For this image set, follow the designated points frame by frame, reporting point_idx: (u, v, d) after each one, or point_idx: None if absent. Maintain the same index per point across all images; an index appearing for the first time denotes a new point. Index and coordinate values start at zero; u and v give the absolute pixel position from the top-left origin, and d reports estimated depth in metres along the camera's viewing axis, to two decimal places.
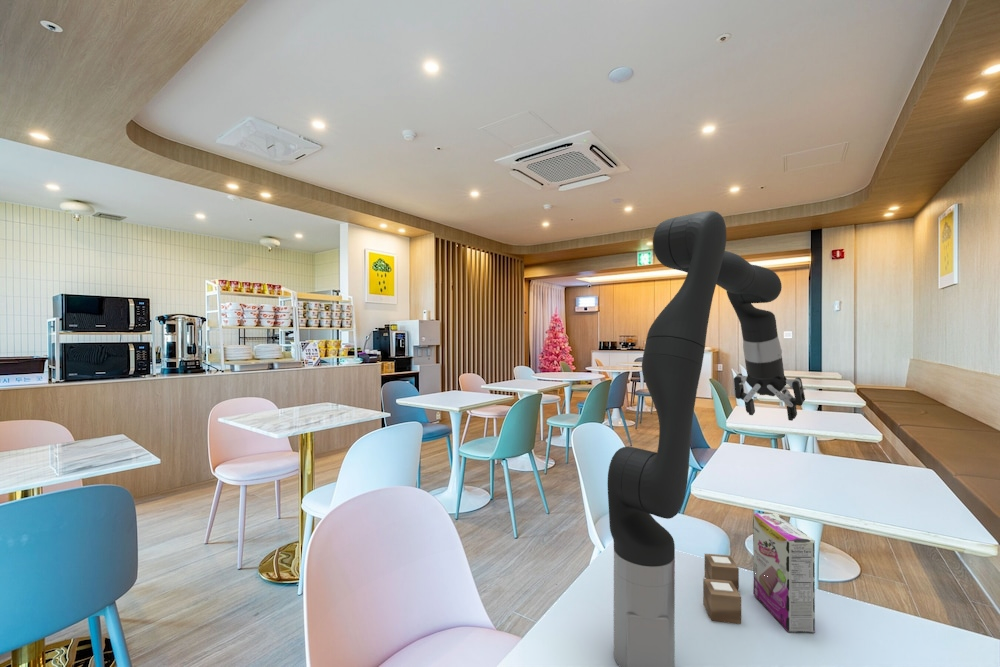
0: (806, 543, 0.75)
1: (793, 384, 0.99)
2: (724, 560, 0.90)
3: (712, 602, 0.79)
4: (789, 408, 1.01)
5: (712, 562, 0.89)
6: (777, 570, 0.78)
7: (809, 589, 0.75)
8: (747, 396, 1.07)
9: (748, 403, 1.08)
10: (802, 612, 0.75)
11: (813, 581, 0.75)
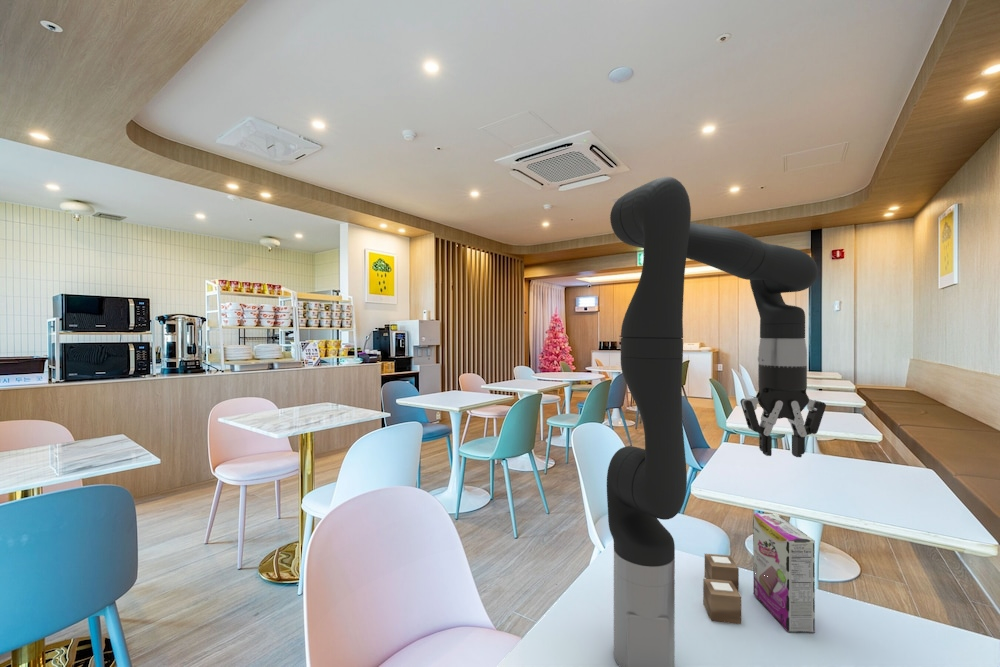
0: (806, 543, 0.75)
1: (820, 405, 0.78)
2: (724, 560, 0.90)
3: (712, 602, 0.79)
4: (800, 439, 0.79)
5: (712, 562, 0.89)
6: (777, 570, 0.78)
7: (809, 589, 0.75)
8: (767, 426, 0.80)
9: (769, 437, 0.80)
10: (802, 612, 0.75)
11: (813, 581, 0.75)
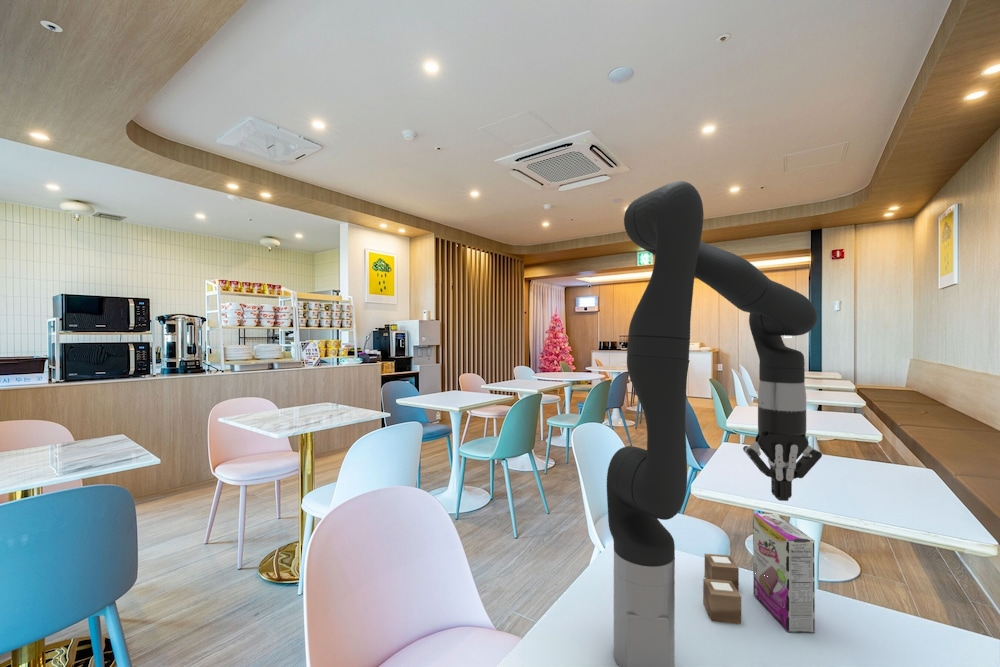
0: (806, 543, 0.75)
1: (816, 454, 0.79)
2: (724, 560, 0.90)
3: (712, 602, 0.79)
4: (787, 483, 0.80)
5: (712, 562, 0.89)
6: (777, 570, 0.78)
7: (808, 589, 0.75)
8: (777, 471, 0.80)
9: (781, 482, 0.80)
10: (802, 612, 0.75)
11: (813, 581, 0.75)
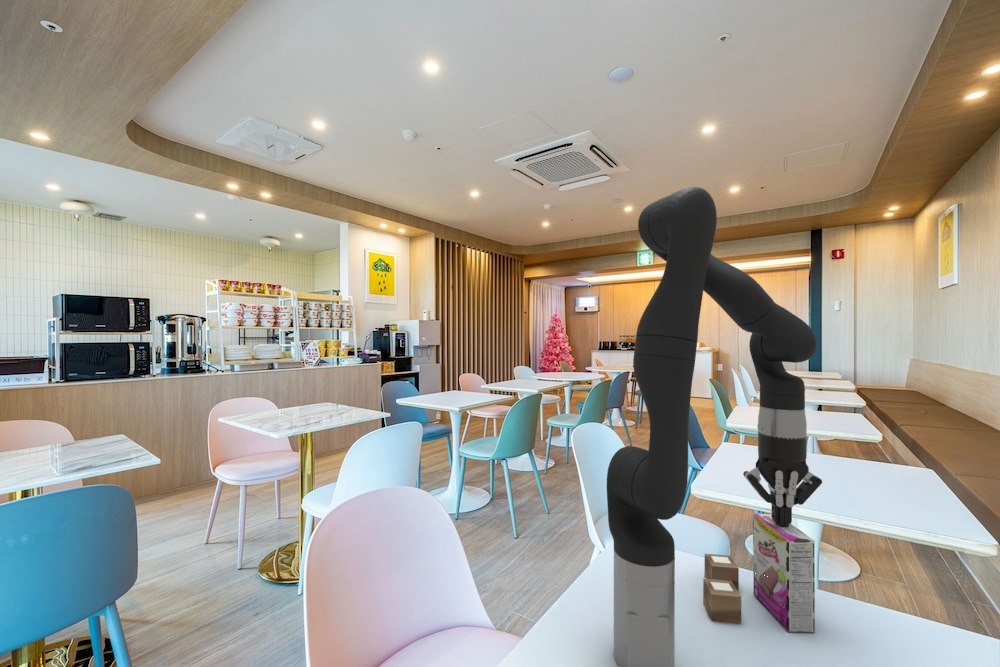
0: (806, 544, 0.75)
1: (816, 480, 0.79)
2: (724, 560, 0.90)
3: (712, 602, 0.79)
4: (787, 509, 0.80)
5: (712, 562, 0.89)
6: (777, 570, 0.78)
7: (808, 590, 0.75)
8: (777, 497, 0.80)
9: (781, 508, 0.80)
10: (802, 612, 0.75)
11: (813, 581, 0.75)
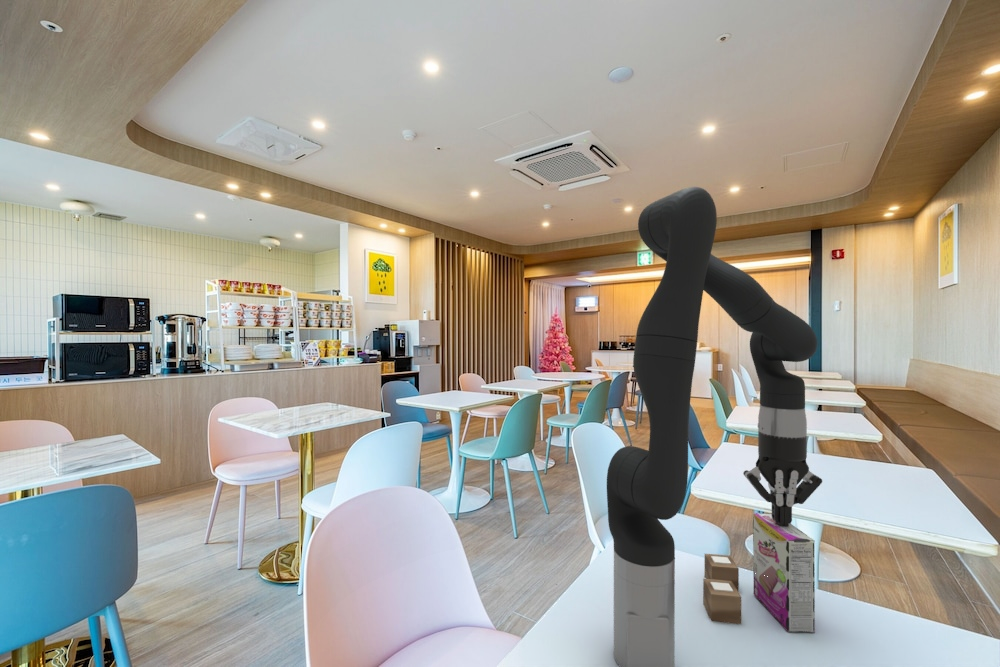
0: (806, 543, 0.75)
1: (817, 480, 0.79)
2: (724, 560, 0.90)
3: (712, 602, 0.79)
4: (787, 508, 0.80)
5: (712, 562, 0.89)
6: (777, 570, 0.78)
7: (808, 589, 0.75)
8: (777, 497, 0.80)
9: (781, 508, 0.80)
10: (802, 612, 0.75)
11: (813, 581, 0.75)
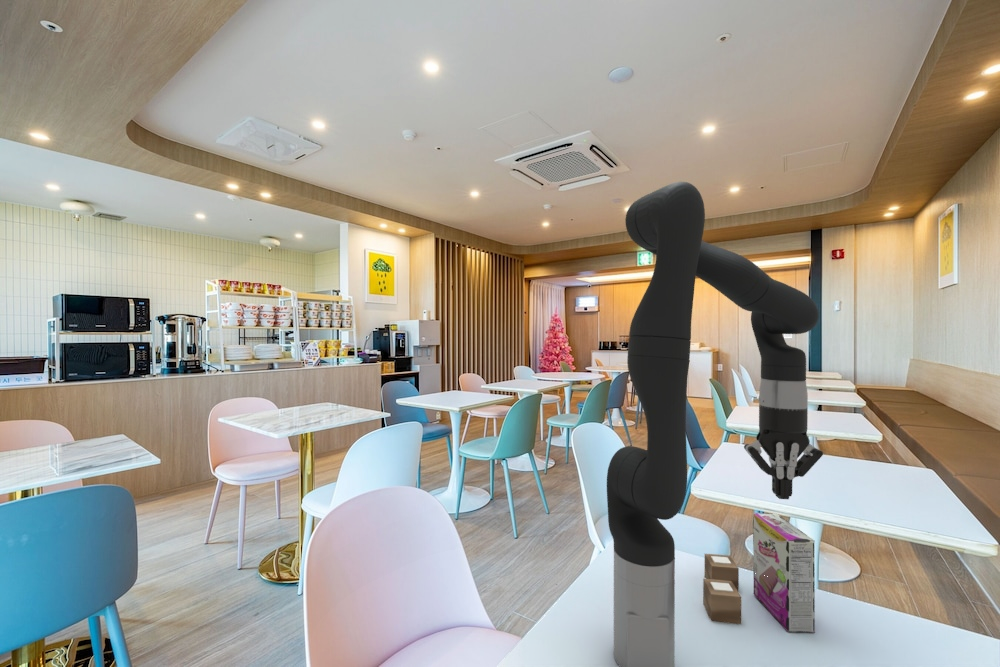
0: (806, 543, 0.75)
1: (817, 452, 0.79)
2: (724, 560, 0.90)
3: (712, 602, 0.79)
4: (788, 481, 0.80)
5: (712, 562, 0.89)
6: (777, 570, 0.78)
7: (808, 589, 0.75)
8: (778, 469, 0.80)
9: (782, 481, 0.80)
10: (802, 612, 0.75)
11: (813, 581, 0.75)
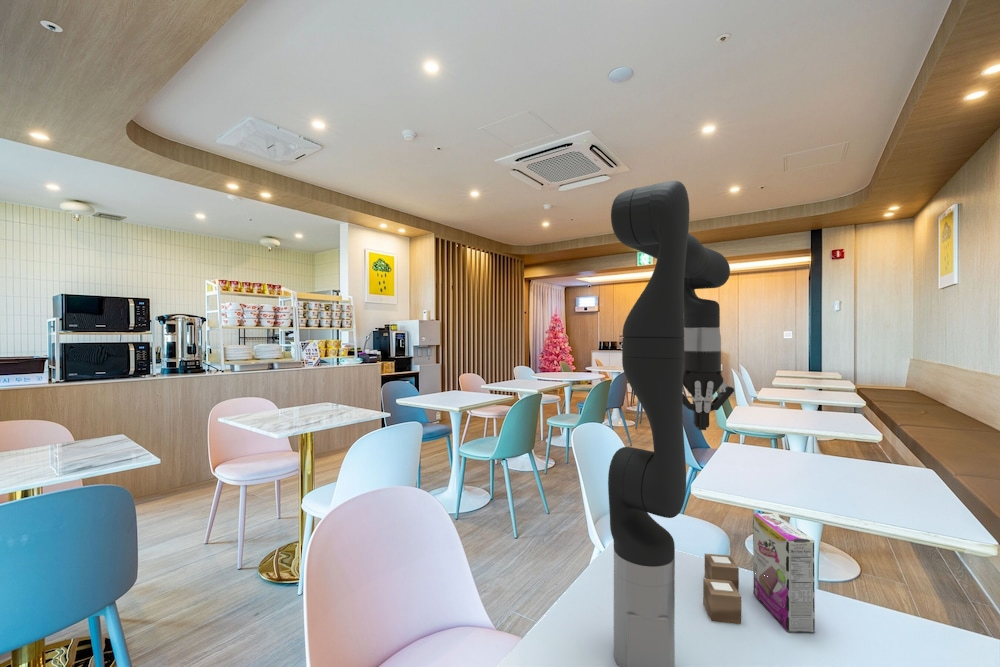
0: (806, 543, 0.75)
1: (729, 389, 0.92)
2: (724, 560, 0.90)
3: (712, 602, 0.79)
4: (705, 414, 0.93)
5: (712, 562, 0.89)
6: (777, 570, 0.78)
7: (808, 589, 0.75)
8: (697, 404, 0.93)
9: (700, 414, 0.93)
10: (802, 612, 0.75)
11: (813, 581, 0.75)
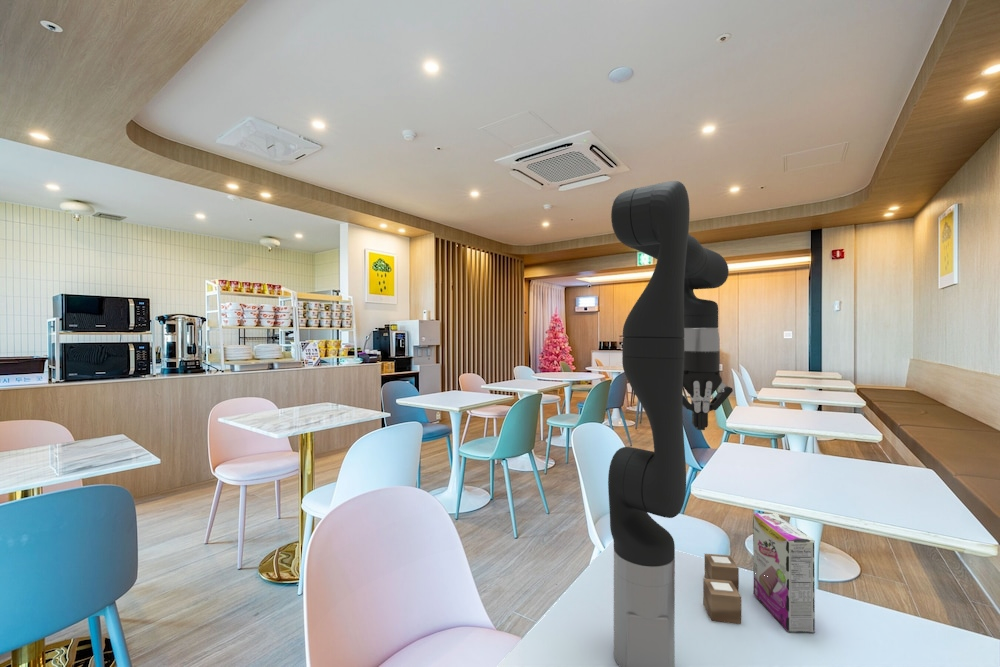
0: (806, 543, 0.75)
1: (728, 389, 0.92)
2: (724, 560, 0.90)
3: (712, 602, 0.79)
4: (704, 414, 0.93)
5: (712, 562, 0.89)
6: (777, 570, 0.78)
7: (808, 589, 0.75)
8: (695, 404, 0.93)
9: (699, 414, 0.93)
10: (802, 612, 0.75)
11: (813, 581, 0.75)
